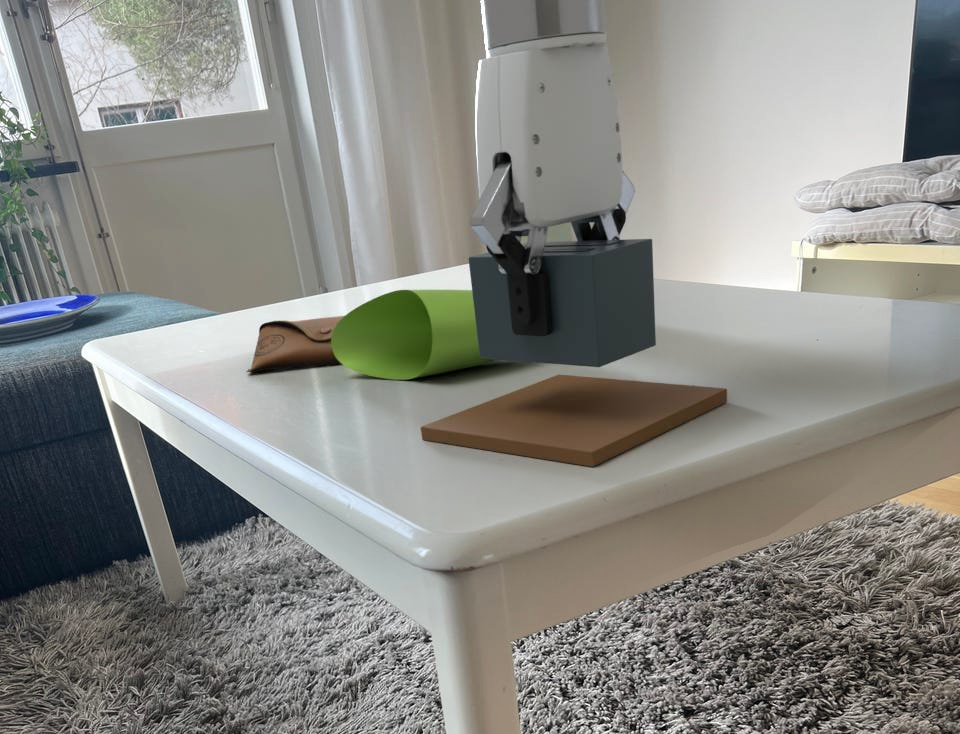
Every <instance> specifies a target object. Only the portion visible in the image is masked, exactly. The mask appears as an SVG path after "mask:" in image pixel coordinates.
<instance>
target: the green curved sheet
mask: <svg viewBox="0 0 960 734" xmlns="http://www.w3.org/2000/svg"><path fill="white" fill-rule="evenodd" d="M343 316H344V317H343V318H342V319H341V320H340V321H339V322H338V323H337V325H336V326H335V328H334V330H333V332H332V337H331V345H332V350H333V353H334V355H335V357H336V358H337V360H338V361H339V362H340V363H341V364H340V365H342V366H344V367H345V368H347V369H349V370H351V371H353V372H356V373H359V374H361V375H366V376H369V377H374V378H379V379H386V380H395V381H398V380H399V381H403V380H405V381H406V380H411V379H418V378H423V377H428V376H434V375H439V374H444V373H449V372H454V371H459V370H463V369H464V370H465V369H468V368H472V367H477V366H481V365H485V364H488V363H493V362H496V361H497V360H496V359H483V358H480V353H479V345H478V336H477V328H476V319H475V310H474V302H473V293H472V289H397V290H393V291H390V292H386V293H384V294H381V295H378V296H377V297H375V298H372V299H370V300H368V301H366V302H364V303H362V304H361V305H359V306H357V307H356V308H354V309H352V310H350V312H348V313H346V314H345V315H343Z"/></svg>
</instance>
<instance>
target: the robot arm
mask: <svg viewBox="0 0 960 734" xmlns="http://www.w3.org/2000/svg"><path fill="white" fill-rule="evenodd" d="M480 3H481V4H480V5H481V14H482V15H481V16H482V25H483V33H484V44H485V50H486V51H485V53H486V57H485V58H482V59H479V60H478V70H477V78H476V93H475V148H476V150H475V151H476V167H477V169H476V171H477V182H478V183H477V185H478V194H479V195H478V196H479V200H478V201H477V203H476V206H475V207H474V209H473V211H472V213H471V215H470V218H469V225H470V228H471V229H472V231H473V232H474V233H475V234H476V236H477V237H478V238H479V239H480V241H481V242H482V243H483V245H485V246H486V250H487V253H488V252H489V253H490V255H491V256H492V257H493V258H494V259H495V260H496V261H497V262H498V268H499V271H500V273H501V274H503V275H507V282H508V293H509V303H510V313H511V323H512V331H513V333H514V334H516V335H529V336H546V335H549V334H551V333H552V329H553V327H552V315H551V302H550V290H549V278H548V272H539V271H540V269H541V264H542V259H543V253H544V248H545V243H546V237H547V232H548V227H549V226H554V225H559V224H563V223H568V222H571V228H572V230H573V232H574V235H575V238H576V241H595V240H621V237H620V235H621V233H622V230H623V228H624V226H625V224H626V219H627V215H626V214H628V211H629V208H630V206H631V203H632V201H633V199H634V196H635V192H636V190H635V186H634V184H633V182H632V181H631V180H630V178H629V177H628V176H627V174H626V173H625V171H624V170H623V153H622V138H621V128H620V127H621V126H620V118H619V117H620V116H619V110H618V101H617V94H616V86H615V80H614V76H613V75H614V74H613V69H612V63H611V58H610V54H609V47H608V45H607V28H606V8H605V0H480ZM591 223H593V225H592V227H591ZM521 236H528V240H527V245H526V249H525V248H524V246H523V245H522V244H521V243H520V242H521Z"/></svg>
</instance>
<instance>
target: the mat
mask: <svg viewBox="0 0 960 734" xmlns="http://www.w3.org/2000/svg"><path fill="white" fill-rule="evenodd" d="M727 402H728V389H727V388H724V387H714V386H712V387H711V386H701V385H700V386H699V385H689V384H688V385H687V384H677V383H667V382H666V383H664V382H655V381H654V382H653V381H652V382H651V381H640V380H629V379H618V378H605V377H592V376H581V375H571V374H570V375H569V374H556V375H553V376H551V377H549V378H546V379H543V380H540V381H537V382H535V383H533V384H530V385H528V386H525V387H521V388H519V389H517V390H514V391H511V392H508V393H506V394H504V395H501V396H498V397H496V398H493V399H491V400H487V401H485V402H483V403H482V402H481V403H479V404H477V405H475V406H471V407H469V408H466V409H464V410H462V411H459V412H455V413H453V414H451V415H448V416H445V417H442V418H440V419H438V420H435V421H433V422H429V423H427V424H425V425H422V426H420V433H421V439H422V440H423V441H427V442H435V443H442V444H447V445H453V446H460V447H467V448H472V449H478V450H485V451H491V452H497V453H502V454H510V455H516V456H522V457H529V458H533V459H534V458H535V459H542V460H547V461H554V462H560V463H566V464H573V465H578V466H585V467H592V468H594V467H596V466H598V465H600V464H602V463H604V462H606V461H609V460H610V459H612V458H614V457H616V456H619V455H621V454H622V453H625V452H627V451H629V450H632V449H633V448H635V447H637V446H639V445H641V444H643V443H645V442H647V441H650V440H652V439H653V438H656V437H658V436H660V435H662V434H664V433H666V432H668V431H670V430H673V429H675V428H677V427H678V426H680V425H682V424H684V423H687V422H689V421H691V420H693V419H695V418H696V417H699V416H701V415H703V414H705V413H708V412H709V411H711V410H714V409H715V408H718V407H720V406H721V405H724V404H725V403H727Z"/></svg>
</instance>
